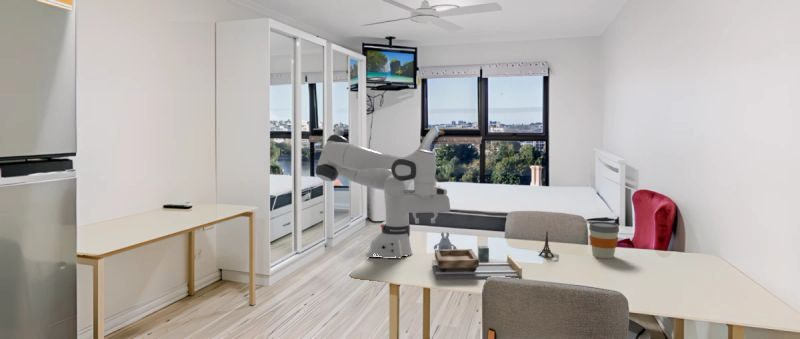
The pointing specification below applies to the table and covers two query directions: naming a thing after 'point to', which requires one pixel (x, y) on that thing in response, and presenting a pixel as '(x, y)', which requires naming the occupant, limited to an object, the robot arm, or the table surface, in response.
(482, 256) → the slate block
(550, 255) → the eiffel tower figurine
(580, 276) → the table surface
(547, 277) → the table surface
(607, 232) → the reusable coffee cup
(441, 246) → the toy figure
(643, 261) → the table surface
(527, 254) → the table surface
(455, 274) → the track
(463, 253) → the shallow wooden tray
